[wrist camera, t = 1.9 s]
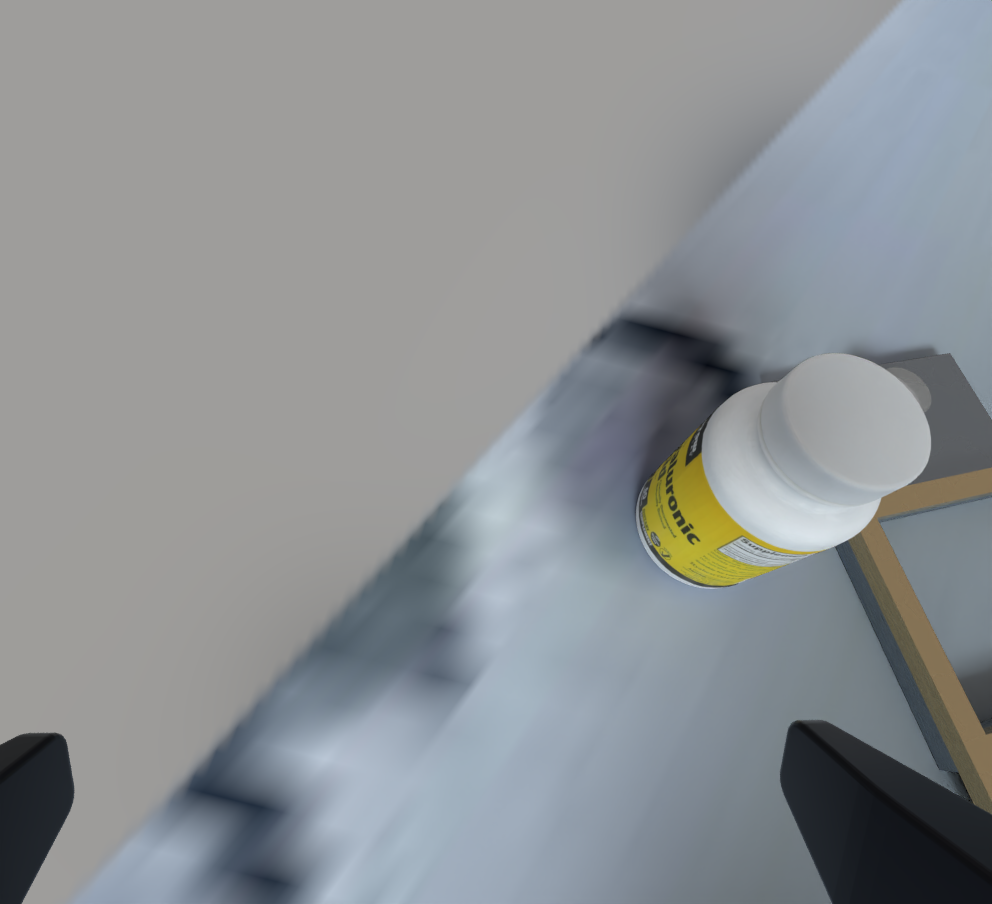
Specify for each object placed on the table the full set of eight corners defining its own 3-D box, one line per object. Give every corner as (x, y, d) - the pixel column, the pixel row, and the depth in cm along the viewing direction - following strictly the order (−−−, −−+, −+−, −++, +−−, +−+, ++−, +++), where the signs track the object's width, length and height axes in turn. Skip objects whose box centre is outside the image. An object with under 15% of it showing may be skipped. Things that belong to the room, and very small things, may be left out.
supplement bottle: (635, 453, 25) (757, 310, 16) (756, 478, 25) (944, 351, 16) (626, 578, 22) (763, 492, 13) (760, 604, 23) (982, 537, 14)
